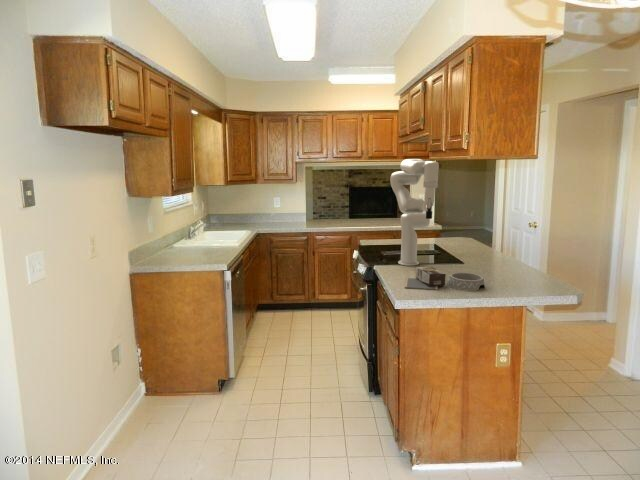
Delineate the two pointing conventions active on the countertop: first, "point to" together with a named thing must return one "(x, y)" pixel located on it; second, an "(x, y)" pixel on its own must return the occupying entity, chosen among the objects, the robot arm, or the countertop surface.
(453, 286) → the dog bowl
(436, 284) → the coffee box
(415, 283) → the mat
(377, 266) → the countertop surface
